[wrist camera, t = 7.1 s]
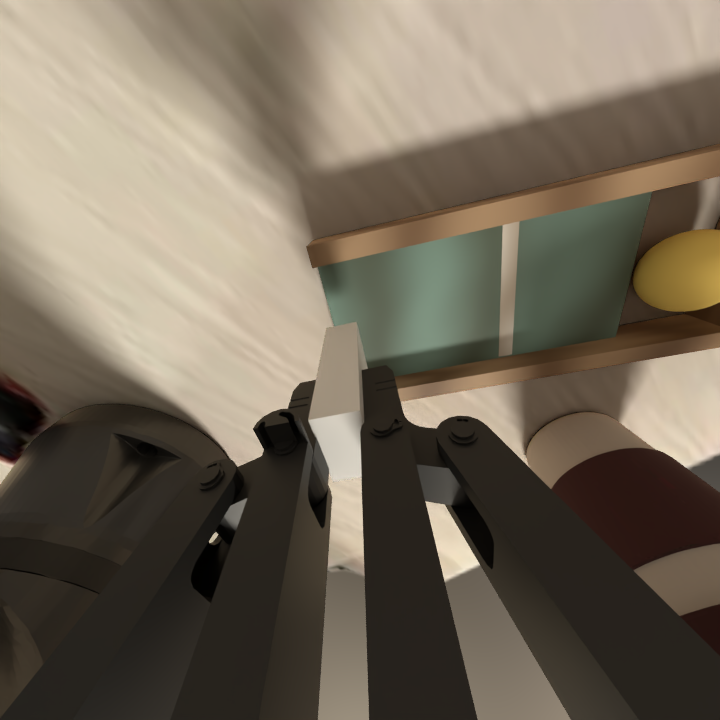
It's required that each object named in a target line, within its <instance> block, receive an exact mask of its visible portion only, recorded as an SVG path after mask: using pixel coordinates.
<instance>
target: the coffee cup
mask: <svg viewBox="0 0 720 720" xmlns="http://www.w3.org/2000/svg"><path fill="white" fill-rule="evenodd" d="M526 456H527V462H528V465H529V467H530V469H531V470H532V471H533V472H534V473H535V474H536V475H537V476H538V477H539V478H540V479H541V480H542V481H543V482H544V483H545V484H546V485H547V486H548V487H549V488H550V489H551V490H552V491H553V492H554V493H555V494H556V495H558V496H559V497H560V498H561V499H562V500H563V501H564V502H565V503H566V504H567V505H568V506H569V507H570V508H571V509H572V510H573V511H574V512H575V513H576V514H577V515H578V516H579V517H580V518H581V519H582V520H583V521H584V522H585V523H586V524H587V525H588V526H589V527H590V528H591V529H592V530H593V531H594V532H595V533H596V534H597V535H598V536H599V537H600V538H601V539H602V540H603V541H604V542H605V543H606V544H607V545H608V546H609V547H610V548H611V549H612V550H613V551H614V552H615V553H616V554H617V555H618V556H619V557H620V558H621V559H622V560H623V561H624V562H625V563H626V564H627V565H628V566H629V567H630V568H631V569H632V570H633V571H634V572H635V573H636V574H637V575H638V576H640V577H641V578H642V579H643V580H644V581H645V582H646V583H647V584H648V585H649V586H650V587H651V588H652V589H653V590H654V591H655V592H656V593H657V594H658V595H659V596H660V597H661V598H662V599H663V600H664V601H665V602H666V603H667V604H668V605H669V606H670V607H671V608H672V609H673V610H674V611H675V612H676V613H677V614H678V615H679V616H680V617H681V618H682V619H683V620H684V621H685V622H686V623H687V624H688V625H689V626H690V627H691V628H692V629H693V630H694V631H695V632H696V633H697V634H698V635H699V636H700V637H701V638H702V639H703V640H704V641H705V642H706V643H707V644H708V645H709V646H710V647H711V648H712V649H713V650H714V651H715V652H716V653H717V654H718V655H719V656H720V492H718V491H717V490H715V489H714V488H713V487H711V486H710V485H709V484H707V483H706V482H705V481H703V480H702V479H701V478H699V477H698V476H696V475H695V474H693V473H692V472H691V471H690V470H688V469H687V468H686V467H684V466H683V465H681V464H680V463H679V462H677V461H676V460H675V459H673V458H672V457H670V456H668V455H667V454H665V453H663V452H661V451H658V450H655V449H654V448H652V447H651V446H650V445H648V444H647V443H646V442H644V441H643V440H642V439H640V438H639V437H638V436H636V435H635V434H634V433H632V432H631V431H630V430H628V429H627V428H626V427H625V426H623V425H622V424H621V423H619V422H618V421H617V420H615V419H613V418H611V417H609V416H607V415H605V414H601V413H595V412H581V413H575V414H571V415H566V416H564V417H561V418H558V419H556V420H554V421H552V422H551V423H549V424H547V425H546V426H545V427H543V428H542V429H541V430H539V431H538V432H537V433H536V434H535V436H534V437H533V438H532V440H531V441H530V443H529V445H528V448H527V453H526Z"/></svg>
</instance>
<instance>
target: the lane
mask: <svg viewBox="0 0 720 720" xmlns="http://www.w3.org/2000/svg"><path fill="white" fill-rule="evenodd" d="M717 176H720V144H716V145H712V146H708V147H704V148H700V149H695V150H691V151H687V152H683V153H678V154H674V155H670V156H666V157H662V158H657V159H653V160H649V161H645V162H641V163H636V164H632V165H628V166H624V167H619V168H615V169H611V170H607V171H603V172H598V173H594V174H590V175H586V176H581V177H577V178H573V179H569V180H565V181H560V182H556V183H552V184H548V185H543V186H539V187H535V188H531V189H527V190H522V191H518V192H514V193H510V194H506V195H501V196H497V197H493V198H489V199H484V200H480V201H476V202H472V203H468V204H463V205H459V206H455V207H451V208H446V209H442V210H438V211H434V212H430V213H425V214H421V215H417V216H413V217H408V218H404V219H400V220H396V221H392V222H387V223H383V224H379V225H375V226H371V227H366V228H362V229H358V230H354V231H349V232H345V233H341V234H337V235H333V236H328V237H324V238H320V239H316V240H313V241H312V242H311V243H310V244H309V245H308V246H307V251H308V254H309V258H310V261H311V265H312V268H316V267H318V270H319V274H320V277H321V281H322V284H323V288H324V292H325V295H326V299H327V302H328V306H329V309H330V313H331V317H332V320H333V324H334V326H339V325H344V324H348V323H353V322H357V325H358V330H359V334H360V338H361V342H362V346H363V351H364V355H365V359H366V363H367V367H368V369H369V368H374V367H379V366H384V365H387V366H388V367H389V368H390V369H391V370H392V371H393V373H394V377H395V381H396V385H397V389H398V394H399V398H400V402H401V401H407V400H413V399H419V398H425V397H430V396H436V395H442V394H448V393H454V392H460V391H466V390H472V389H477V388H483V387H489V386H495V385H501V384H507V383H513V382H519V381H525V380H530V379H536V378H542V377H548V376H554V375H560V374H566V373H572V372H577V371H583V370H589V369H595V368H601V367H607V366H613V365H619V364H625V363H630V362H636V361H642V360H648V359H654V358H660V357H666V356H672V355H678V354H683V353H689V352H695V351H701V350H707V349H713V348H719V347H720V302H719V303H717V304H715V305H713V306H710V307H707V308H703V309H699V310H694V311H685V314H680V315H675V316H669V317H664V318H659V319H653V320H648V321H642V322H637V323H631V324H626V325H620V326H619V322H620V318H621V314H622V310H623V306H624V302H625V298H626V294H627V290H628V286H629V282H630V278H631V274H632V270H633V266H634V262H635V258H636V254H637V250H638V246H639V243H640V239H641V235H642V231H643V227H644V223H645V219H646V215H647V211H648V207H649V203H650V199H651V195H652V191H656V190H660V189H664V188H669V187H673V186H678V185H682V184H687V183H691V182H695V181H700V180H704V179H709V178H713V177H717ZM715 230H720V219H719V221H718V224H717V227H716V229H715Z"/></svg>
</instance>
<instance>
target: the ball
mask: <svg viewBox="0 0 720 720" xmlns="http://www.w3.org/2000/svg"><path fill="white" fill-rule="evenodd" d="M633 286H634V289H635V291H636V293H637V295H638V296H639V297H640V298H641V299H642V300H643V301H644V302H646V303H647V304H649V305H650V306H653V307H655V308H658V309H661V310H666V311H675V312H685V311H694V310H699V309H703V308H707V307H710V306H713V305H715V304H717V303H719V302H720V230H714V229H699V230H692V231H687V232H683V233H679V234H676V235H674V236H671V237H669V238H667V239H665V240H663V241H661V242H659V243H658V244H656V245H655V246H653V247H652V248H651V249H650V250H648V251H647V252H646V253H645V254H644V255H643V256H642V258H641V259H640V260H639V262H638V263H637V265H636V267H635V270H634V274H633Z"/></svg>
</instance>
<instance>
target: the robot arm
mask: <svg viewBox="0 0 720 720" xmlns="http://www.w3.org/2000/svg"><path fill="white" fill-rule="evenodd" d="M253 430H254V432H255V434H256V436H257V437H258V439H259V441H260V443H261V445H262V447H263V448H264V452H263V455H262V456H261V457H259V458H257V459H255V460H253V461H250V462H248V463H246V464H244V465H241V466H239V467H237V466H236V464H235V463H234V462H233V461H232V460H229V459H228V458H227V456H226V455H225V454H224V453H223V451H222V450H221V449H220V448H219V447H218V446H217V445H216V444H215V443H214V442H213V441H211V440H210V439H209V438H208V437H207V436H205V435H204V434H203V433H201V432H200V431H198V430H197V429H195V428H193V427H192V426H190V425H188V424H186V423H184V422H182V421H180V420H178V419H176V418H173V417H171V416H169V415H166V414H163V413H160V412H157V411H154V410H150V409H146V408H142V407H137V406H130V405H121V404H102V405H93V406H88V407H84V408H80V409H77V410H75V411H73V412H71V413H69V414H67V415H66V416H64V417H63V418H61V419H60V420H59V421H57V422H56V423H55V424H53V425H52V426H51V427H49V428H48V429H47V430H45V431H44V432H42V433H41V434H40V435H39V436H38V437H36V438H35V439H34V440H33V441H32V442H31V443H30V445H29V446H28V447H27V448H26V450H25V451H24V453H23V454H22V455H21V457H20V458H19V460H18V461H17V462H16V464H15V465H14V466H13V468H12V469H11V471H10V472H9V473H8V475H7V476H6V478H5V479H4V480H3V482H2V483H1V484H0V720H318V706H319V690H320V675H321V658H322V644H323V627H324V613H325V597H326V581H327V566H328V551H329V535H330V520H331V504H332V496H331V491H330V488H329V486H328V477H329V473H330V476H331V478H332V481H333V482H336V481H342V480H348V479H354V478H361V477H362V504H363V536H364V568H365V599H366V630H367V659H368V660H367V662H368V693H369V720H477V715H476V711H475V707H474V703H473V699H472V695H471V691H470V686H469V682H468V679H467V674H466V670H465V666H464V661H463V657H462V653H461V649H460V645H459V640H458V636H457V632H456V628H455V624H454V620H453V616H452V611H451V607H450V603H449V599H448V594H447V590H446V586H445V582H444V578H443V574H442V569H441V565H440V561H439V557H438V553H437V549H436V544H435V540H434V536H433V532H432V528H431V524H430V519H429V515H428V511H427V507H426V503H425V501H428V502H434V503H440V504H445V505H446V507H447V509H448V511H449V512H450V514H451V516H452V517H453V519H454V521H455V523H456V524H457V526H458V528H459V529H460V531H461V533H462V535H463V536H464V538H465V540H466V541H467V543H468V545H469V546H470V548H471V550H472V552H473V553H474V555H475V557H476V558H477V560H478V562H479V563H480V565H481V567H482V569H483V570H484V572H485V574H486V575H487V577H488V579H489V580H490V582H491V584H492V586H493V587H494V589H495V591H496V592H497V594H498V596H499V598H500V599H501V601H502V602H503V604H504V606H505V608H506V609H507V611H508V613H509V615H510V616H511V618H512V620H513V621H514V623H515V625H516V627H517V628H518V630H519V631H520V633H521V635H522V637H523V638H524V640H525V642H526V644H527V645H528V647H529V649H530V650H531V652H532V654H533V655H534V657H535V659H536V661H537V662H538V664H539V666H540V667H541V669H542V671H543V673H544V674H545V676H546V678H547V679H548V681H549V682H550V684H551V686H552V688H553V689H554V691H555V693H556V695H557V696H558V698H559V700H560V701H561V703H562V705H563V707H564V708H565V710H566V712H567V713H568V715H569V717H570V719H571V720H720V656H719V655H718V654H717V653H716V652H715V651H714V650H713V649H712V648H711V647H710V646H709V645H708V644H707V643H706V642H705V641H704V640H703V639H702V638H701V637H700V636H699V635H698V634H697V633H696V632H695V631H694V630H693V629H692V628H691V627H690V626H689V625H688V624H687V623H686V622H685V621H684V620H683V619H682V618H681V617H680V616H679V615H678V614H677V613H676V612H675V611H674V610H673V609H672V608H671V607H670V606H669V605H668V604H667V603H666V602H665V601H664V600H663V599H662V598H661V597H660V596H659V595H658V594H657V593H656V592H655V591H654V590H653V589H652V588H651V587H650V586H649V585H648V584H647V583H646V582H645V581H644V580H643V579H642V578H641V577H640V576H638V575H637V574H636V573H635V572H634V571H633V570H632V569H631V568H630V567H629V566H628V565H627V564H626V563H625V562H624V561H623V560H622V559H621V558H620V557H619V556H618V555H617V554H616V553H615V552H614V551H613V550H612V549H611V548H610V547H609V546H608V545H607V544H606V543H605V542H604V541H603V540H602V539H601V538H600V537H599V536H598V535H597V534H596V533H595V532H594V531H593V530H592V529H591V528H590V527H589V526H588V525H587V524H586V523H585V522H584V521H583V520H582V519H581V518H580V517H579V516H578V515H577V514H576V513H575V512H574V511H573V510H572V509H571V508H570V507H569V506H568V505H567V504H566V503H565V502H564V501H563V500H562V499H561V498H560V497H559V496H558V495H556V494H555V493H554V492H553V491H552V490H551V489H550V488H549V487H548V486H547V485H546V484H545V483H544V482H543V481H542V480H541V479H540V478H539V477H538V476H537V475H536V474H535V473H534V472H533V471H532V470H531V469H530V468H529V467H528V466H527V465H526V464H525V463H524V462H523V461H522V460H521V459H520V458H519V457H518V456H517V455H516V454H515V453H514V452H513V451H512V450H511V449H510V448H509V447H508V446H507V445H506V444H505V443H504V442H503V441H502V440H501V439H500V438H499V437H498V436H497V435H496V434H495V433H494V432H493V431H492V430H491V429H490V428H489V427H488V426H487V425H485V424H484V423H483V422H481V421H480V420H478V419H475V418H472V417H469V416H455V417H450V418H448V419H446V420H444V421H442V422H441V423H440V425H439V426H438V427H437V429H435V428H425V427H419V426H417V425H414V424H412V423H411V422H409V421H408V420H407V419H406V418H405V416H404V414H403V410H402V406H401V402H400V398H399V394H398V389H397V385H396V381H395V377H394V373H393V371H392V370H391V369H390V368H389V367H388V366H387V365H384V366H379V367H374V368H369V369H368V367H367V363H366V359H365V355H364V351H363V346H362V342H361V338H360V334H359V330H358V325H357V322H353V323H348V324H344V325H339V326H334V327H329V328H326V333H325V338H324V343H323V348H322V353H321V358H320V363H319V368H318V373H317V378H316V380H313V381H308V382H303V383H300V384H299V385H298V386H297V388H296V389H295V390H294V391H293V394H292V397H291V402H290V403H289V407H288V409H280V410H277V411H274V412H271V413H269V414H268V415H266V416H264V417H263V418H262V419H261V420H260V421H258V422H257V424H256V425H255V427H254V428H253ZM215 532H217V533H218V534H219V535H218V536H217V538H216V539H215V540H214V541H213V542H212V543H209V540H210V539H211V537H212V535H213V534H214V533H215Z"/></svg>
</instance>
